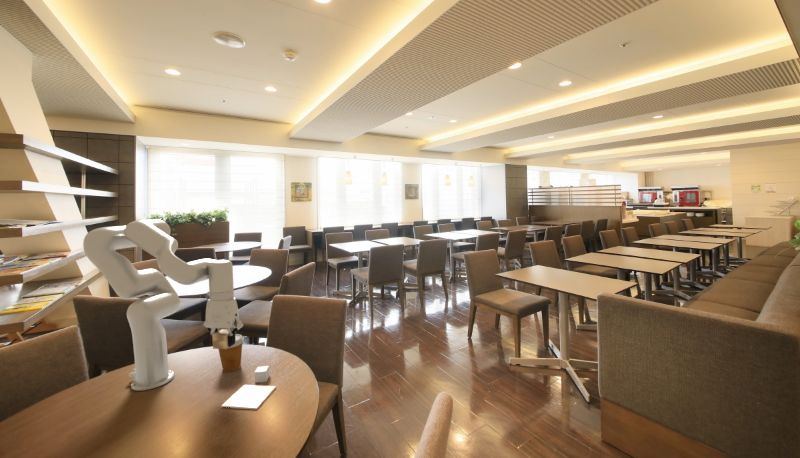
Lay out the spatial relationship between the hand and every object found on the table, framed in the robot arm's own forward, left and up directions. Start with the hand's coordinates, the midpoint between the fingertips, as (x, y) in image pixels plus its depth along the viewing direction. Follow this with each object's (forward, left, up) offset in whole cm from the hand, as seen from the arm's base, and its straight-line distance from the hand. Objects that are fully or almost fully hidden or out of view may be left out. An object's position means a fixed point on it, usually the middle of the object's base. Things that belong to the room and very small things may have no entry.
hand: (224, 344), depth 115 cm
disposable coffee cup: (-6, +11, -15) cm, 19 cm away
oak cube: (0, 0, -1) cm, 1 cm away
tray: (+13, -7, -15) cm, 21 cm away
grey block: (+11, +4, -15) cm, 19 cm away
